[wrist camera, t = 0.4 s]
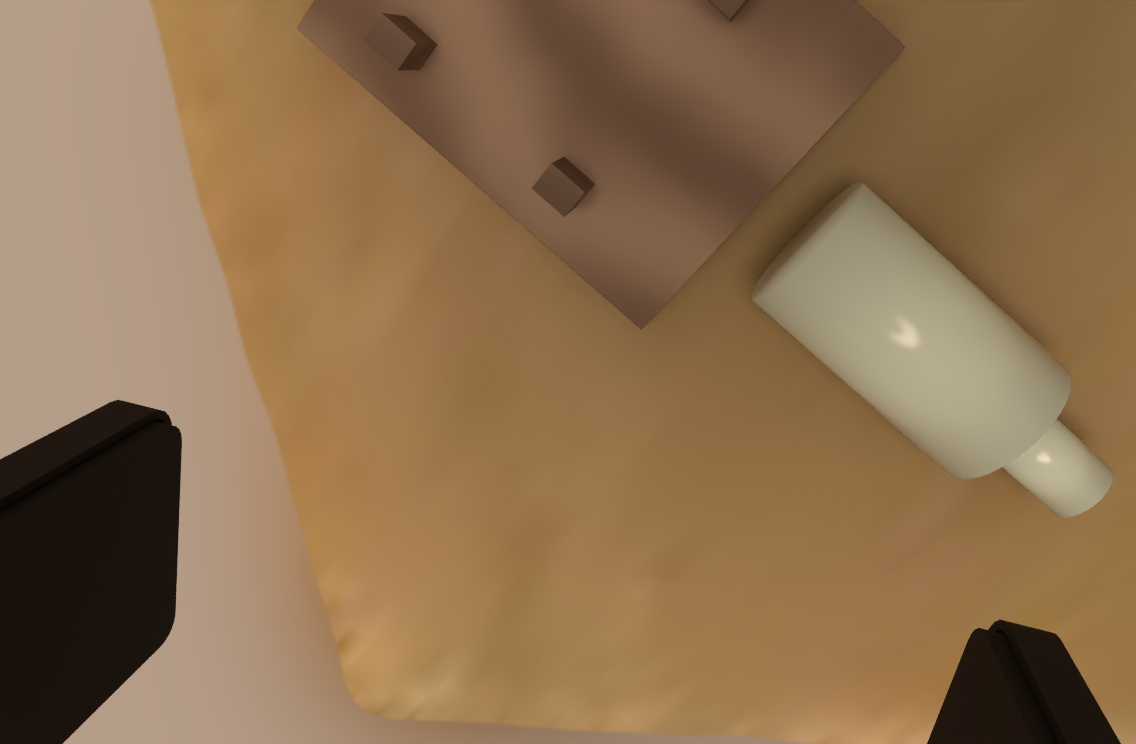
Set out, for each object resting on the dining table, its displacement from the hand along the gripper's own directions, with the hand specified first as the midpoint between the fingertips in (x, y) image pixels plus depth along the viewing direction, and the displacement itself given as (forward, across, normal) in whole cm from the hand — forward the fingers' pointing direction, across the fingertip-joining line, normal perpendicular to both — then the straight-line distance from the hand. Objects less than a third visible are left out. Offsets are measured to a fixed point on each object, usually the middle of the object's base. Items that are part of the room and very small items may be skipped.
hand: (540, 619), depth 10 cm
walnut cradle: (+27, +5, -7) cm, 29 cm away
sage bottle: (+28, -10, +2) cm, 29 cm away
